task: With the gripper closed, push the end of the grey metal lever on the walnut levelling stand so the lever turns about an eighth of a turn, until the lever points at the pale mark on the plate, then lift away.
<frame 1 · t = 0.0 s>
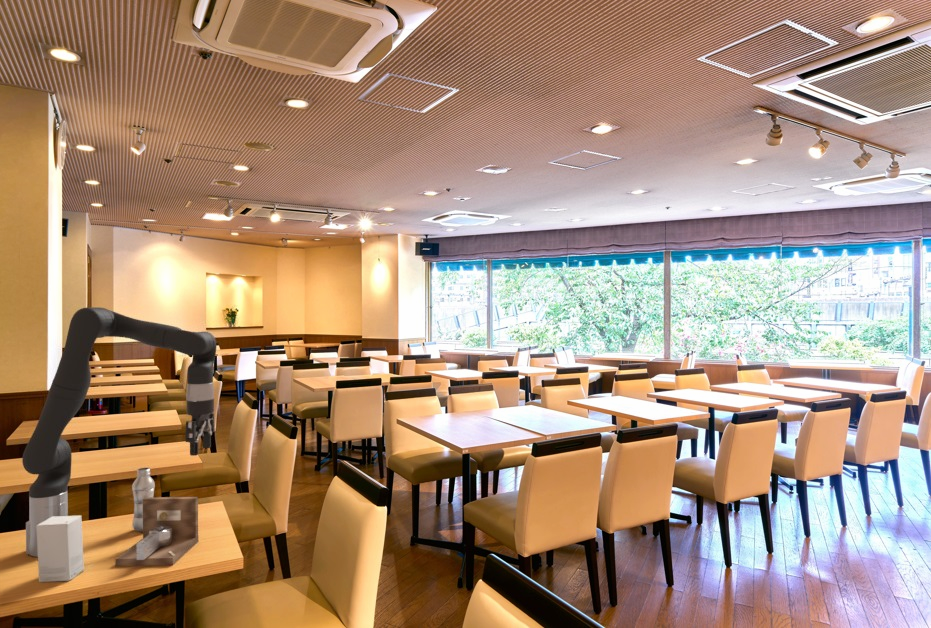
hand: (200, 451, 169), 29 cm above the table, tool pointing down, fingers open, 8 cm apart
plastic bottle: (144, 530, 183), on the table
lever: (153, 540, 163), point 5 cm above the table, hinge at 0.0°
skincare box: (60, 577, 151), on the table
stand: (159, 553, 166), on the table
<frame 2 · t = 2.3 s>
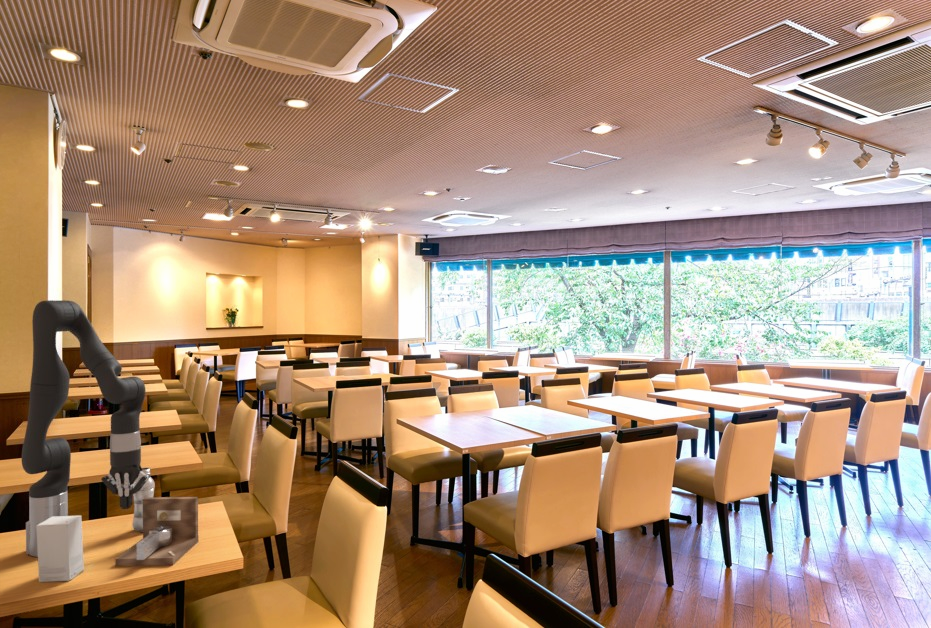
hand: (126, 508, 159), 16 cm above the table, tool pointing down, fingers closed
nothing on the table moved.
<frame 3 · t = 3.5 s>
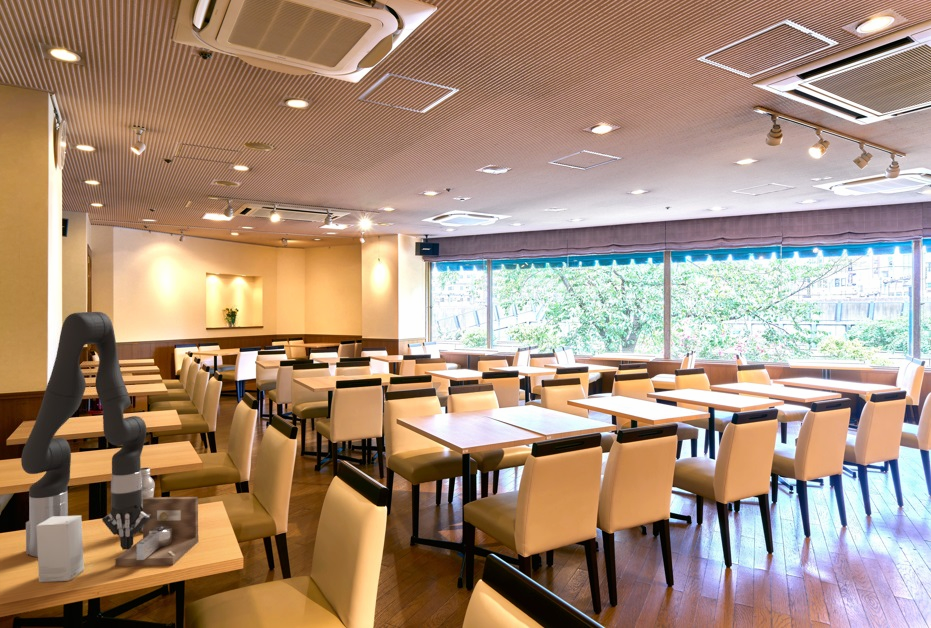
hand: (127, 548, 160), 4 cm above the table, tool pointing down, fingers closed
nothing on the table moved.
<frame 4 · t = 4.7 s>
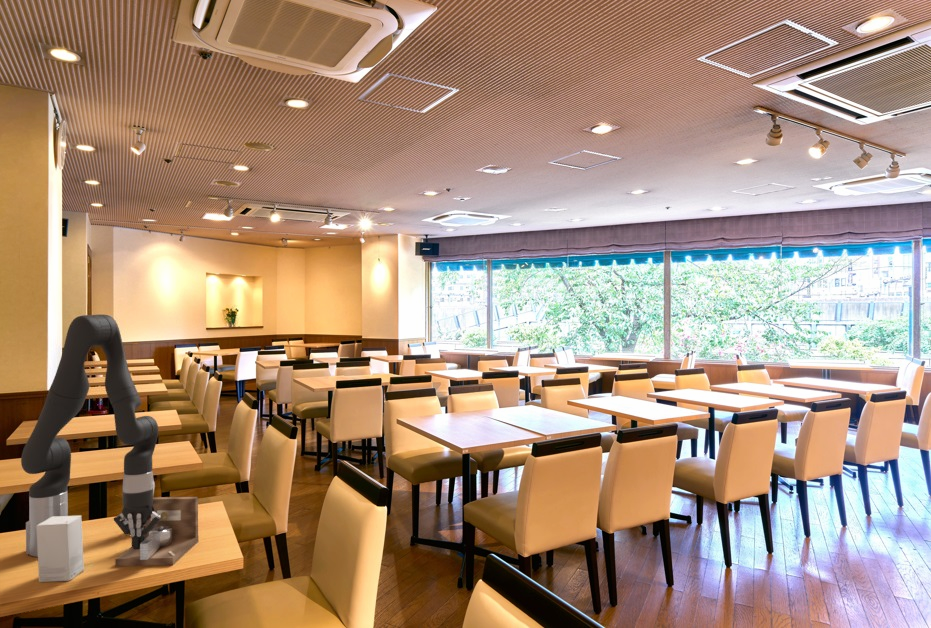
hand: (138, 548, 160), 4 cm above the table, tool pointing down, fingers closed
lever: (154, 540, 163), point 5 cm above the table, hinge at 5.2°, touching gripper
everything else where it was.
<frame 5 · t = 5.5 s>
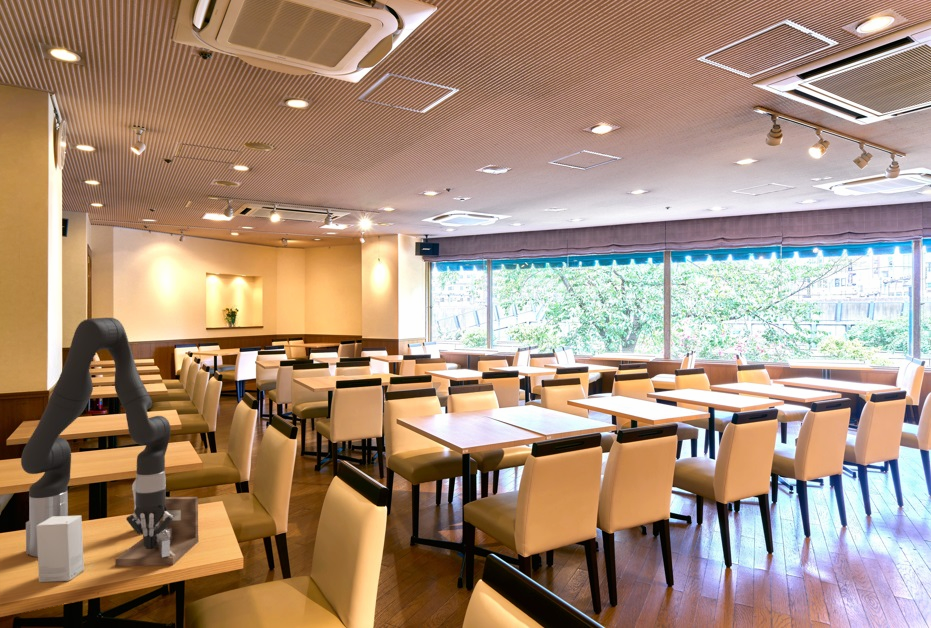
hand: (150, 547, 160), 4 cm above the table, tool pointing down, fingers closed
lever: (162, 539, 164), point 5 cm above the table, hinge at 33.8°, touching gripper
everything else where it was.
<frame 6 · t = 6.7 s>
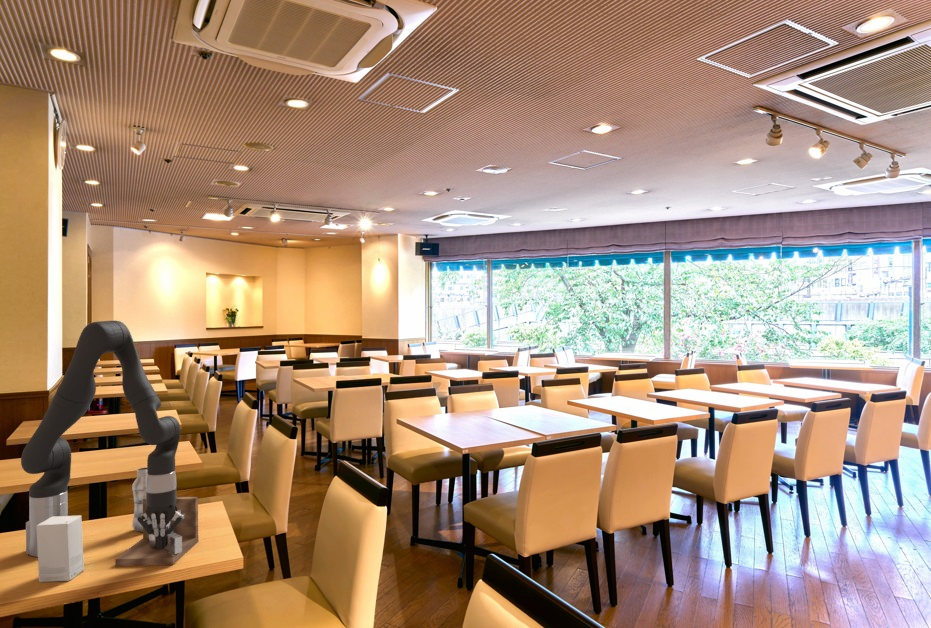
hand: (161, 548, 160), 4 cm above the table, tool pointing down, fingers closed
lever: (166, 538, 164), point 5 cm above the table, hinge at 50.9°, touching gripper
everything else where it was.
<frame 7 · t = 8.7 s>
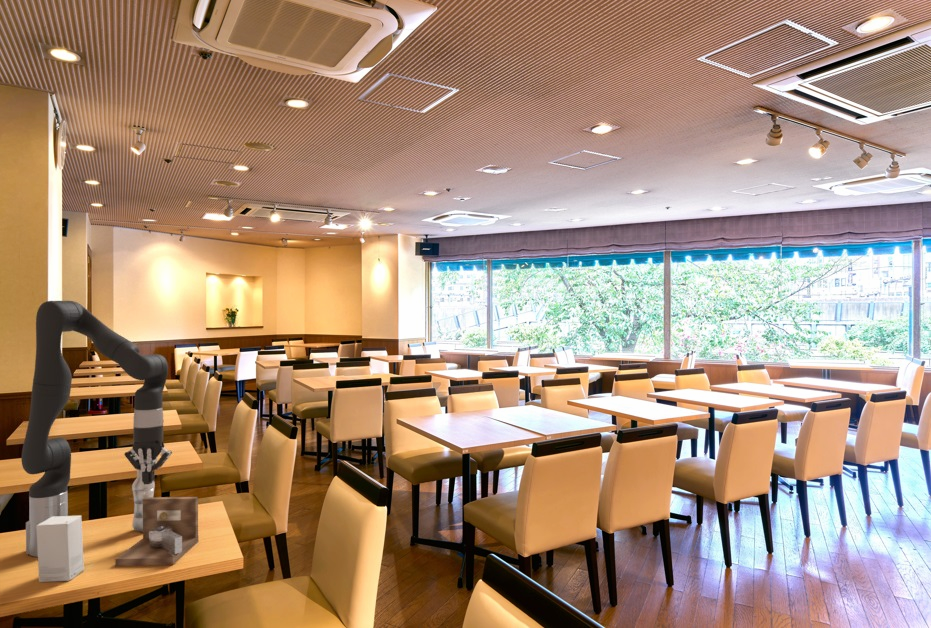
hand: (148, 483, 162), 22 cm above the table, tool pointing down, fingers closed
lever: (166, 538, 164), point 5 cm above the table, hinge at 51.0°
everything else where it was.
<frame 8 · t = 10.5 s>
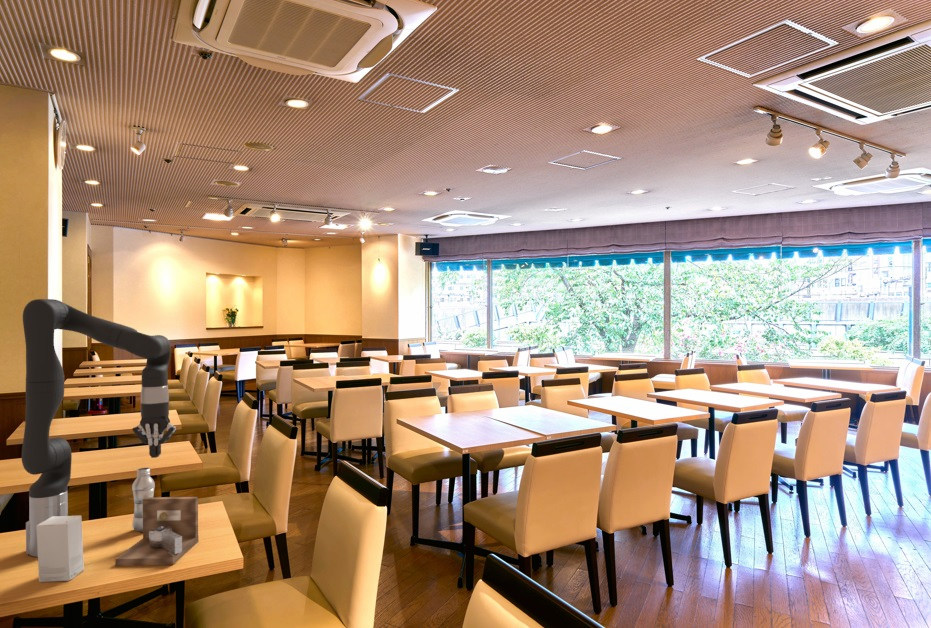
hand: (155, 457, 171), 27 cm above the table, tool pointing down, fingers closed
nothing on the table moved.
at the end: lever at +51° (first picture: +0°) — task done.
